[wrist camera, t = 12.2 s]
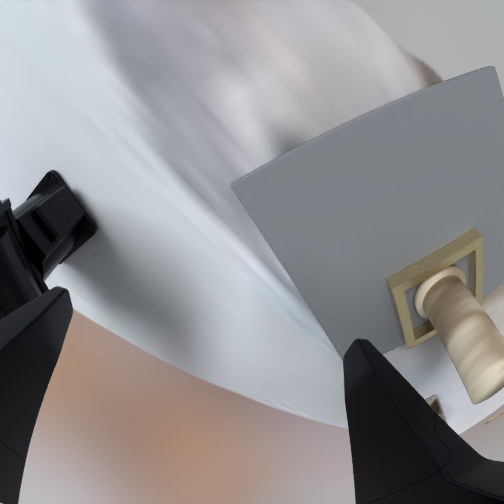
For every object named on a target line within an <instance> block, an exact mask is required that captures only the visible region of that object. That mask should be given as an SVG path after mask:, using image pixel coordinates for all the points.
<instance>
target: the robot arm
mask: <svg viewBox="0 0 504 504" xmlns="http://www.w3.org/2000/svg"><path fill="white" fill-rule="evenodd" d="M51 175H52V176H53V179H52V178H51ZM90 227H91V228H92V229H93V230H91V229H90ZM96 232H97V226H96V224H95V223H94V222H93V220H92V219H91V218H90V217H89V215H88V214H87V213H86V212H85V210H84V209H83V208H82V206H81V205H80V204H79V202H78V201H77V200H76V198H75V197H74V196H73V194H72V193H71V192H70V190H69V189H68V188H67V186H66V185H65V184H64V182H63V181H62V179H61V178H60V177H59V175H58V174H57V172H56V171H55V170H51V171H49V172H48V173H47V174H46V175H45V176H44V177H43V179H42V180H41V181H40V183H39V184H38V185H37V186H36V188H35V189H34V190H33V192H32V193H31V194H30V196H29V197H28V198H27V200H26V201H25V202H24V203H23V204H21V205H20V206H19V207H17V208H16V209H15V210H13V211H12V209H11V203H10V200H9V198H8V199H5V200H3V201H1V200H0V503H3V504H18V501H19V494H20V488H21V482H22V477H23V471H24V467H25V462H26V457H27V453H28V448H29V444H30V441H31V437H32V433H33V430H34V426H35V423H36V420H37V416H38V413H39V410H40V407H41V404H42V401H43V398H44V395H45V392H46V389H47V387H48V384H49V381H50V378H51V376H52V373H53V371H54V368H55V366H56V363H57V361H58V358H59V355H60V352H61V349H62V346H63V342H64V339H65V336H66V333H67V330H68V327H69V324H70V321H71V318H72V314H73V307H72V303H71V299H70V294H69V291H68V290H67V289H65V288H62V287H58V286H57V287H54V288H52V289H51V290H49V289H48V287H47V285H46V284H45V282H44V281H45V280H46V279H47V278H48V276H49V275H50V274H51V273H52V271H53V270H54V269H55V268H56V266H57V265H58V264H61V263H62V262H63V261H65V260H66V259H67V258H68V257H69V256H70V255H71V254H72V253H73V252H75V251H76V250H77V249H78V248H79V247H80V246H81V245H83V244H84V243H85V242H86V241H87V240H88V239H89V238H91V237H92V236H93V235H94V234H95V233H96ZM343 368H344V391H345V405H346V413H347V420H348V428H349V436H350V443H351V453H352V463H353V474H354V486H355V499H356V504H504V462H500V461H493V460H489V459H486V458H484V457H483V456H481V455H480V454H478V453H477V452H476V451H475V450H474V449H473V448H472V447H471V446H470V445H469V444H468V443H466V442H465V441H464V440H463V439H462V438H461V437H460V436H459V435H458V434H457V433H456V432H455V431H454V430H453V429H452V428H451V427H450V426H449V425H448V424H447V423H446V422H445V421H444V420H443V419H442V418H441V417H440V416H439V415H438V414H437V412H436V411H434V409H433V408H432V407H431V406H430V405H429V404H428V403H427V402H426V401H425V400H424V398H423V397H422V396H421V395H420V394H419V393H418V392H417V391H416V390H415V389H414V388H413V387H412V386H411V384H410V383H409V382H408V381H407V380H406V379H405V378H404V377H403V376H402V375H401V374H400V373H399V372H398V371H397V370H396V369H395V367H394V366H393V365H392V364H391V363H390V362H389V361H388V360H387V359H386V358H385V357H384V356H383V355H382V354H381V353H380V352H379V351H378V350H377V349H376V348H375V346H374V345H373V344H372V343H371V342H370V341H369V340H367V339H360V338H357V339H355V340H354V341H353V342H352V344H351V345H350V347H349V348H348V350H347V351H346V353H345V354H344V358H343Z"/></svg>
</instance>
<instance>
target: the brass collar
mask: <svg viewBox="0 0 504 504" xmlns="http://www.w3.org/2000/svg"><path fill="white" fill-rule="evenodd" d="M466 255H468V269H469V290H470V292H471V293H472V294H473V295H474V297H475V298H476V299H477V301H478V302H479V303H480V305H482V291H483V235H482V234H480V233H479V232H478V231H477V230H476V229H475V228H472V229H470V230H469V231H467V232H466V233H464V234H462V235H461V236H459V237H458V238H456V239H454V240H453V241H451V242H449V243H448V244H446V245H444V246H443V247H441V248H439V249H437V250H436V251H434V252H432V253H430V254H429V255H427V256H425V257H423V258H422V259H420V260H418V261H416V262H414V263H413V264H411V265H409V266H407V267H405V268H403V269H402V270H400V271H398V272H396V273H394V274H392V275H390V276H388V277H386V281H387V284H388V288H389V291H390V294H391V297H392V301H393V304H394V308H395V311H396V315H397V318H398V322H399V326H400V329H401V333H402V337H403V340H404V343H405V345H406V347H407V349H409V348H411V347H413V346H415V345H417V344H419V343H421V342H423V341H425V340H426V339H428V338H430V337H432V336H434V335H435V334H437V332H436V330H435V329H434V327H433V325H432V323H431V322H430V320H428V321H426V322H424V323H423V324H421V325H419V326H417V327H415V328H412V323H411V318H410V313H409V309H408V305H407V300H406V296H405V292H404V291H406V290H408V289H410V288H411V287H413V286H415V285H417V284H419V283H421V282H422V281H424V280H426V279H428V278H429V277H431V276H433V275H435V274H436V273H438V272H440V271H441V270H443V269H445V268H447V267H448V266H450V265H451V264H453V263H455V262H456V261H458V260H460V259H461V258H463V257H464V256H466Z"/></svg>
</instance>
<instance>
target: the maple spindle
mask: <svg viewBox="0 0 504 504" xmlns="http://www.w3.org/2000/svg"><path fill="white" fill-rule="evenodd" d="M413 304H414V306H415V308H416V310H417V312H418V313H419V315H420V316H421V317H423V318H427V319H429V320H430V322H431V323H432V325H433V327H434V329H435V330H436V332H437V334H438V336H439V338H440V339H441V341H442V343H443V345H444V347H445V348H446V350H447V352H448V354H449V356H450V358H451V360H452V362H453V364H454V366H455V368H456V370H457V372H458V374H459V376H460V378H461V380H462V382H463V384H464V386H465V388H466V390H467V393H468V395H469V397H470V399H471V402H472V404H478V403H481V402H483V401H485V400H487V399H488V398H490V397H491V396H493V395H494V394H496V393H497V392H498V391H500V390H501V389H502V388H503V387H504V338H503V336H502V335H501V333H500V332H499V330H498V329H497V327H496V326H495V324H494V323H493V321H492V320H491V319H490V317H489V316H488V314H487V313H486V312H485V310H484V309H483V307H482V306H481V305H480V303H479V302H478V301H477V299H476V298H475V297H474V295H473V294H472V293H471V292H470V290H469V289H468V288H467V287H466V277H465V275H464V273H463V272H462V271H461V270H460V269H459V267H458V266H456V265H455V264H451V265H450V266H448V267H447V268H445V269H443V270H441V271H440V272H438V273H436V274H435V275H433V276H431V277H429V278H428V279H426V280H424V281H422V282H421V283H419V284H418V286H417V288H416V290H415V292H414V296H413Z"/></svg>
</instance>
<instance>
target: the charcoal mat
mask: <svg viewBox="0 0 504 504" xmlns="http://www.w3.org/2000/svg"><path fill="white" fill-rule="evenodd" d="M231 188H232V190H233V191H234V193H235V194H236V196H237V197H238V199H239V200H240V202H241V203H242V205H243V206H244V208H245V209H246V211H247V212H248V214H249V215H250V217H251V218H252V220H253V221H254V223H255V224H256V226H257V227H258V229H259V230H260V232H261V233H262V235H263V236H264V238H265V239H266V241H267V242H268V244H269V246H270V247H271V249H272V250H273V252H274V253H275V255H276V256H277V258H278V259H279V261H280V262H281V264H282V266H283V267H284V269H285V270H286V272H287V273H288V275H289V276H290V278H291V279H292V281H293V283H294V284H295V286H296V287H297V289H298V290H299V292H300V293H301V295H302V297H303V298H304V300H305V301H306V303H307V304H308V306H309V308H310V309H311V311H312V312H313V314H314V315H315V317H316V319H317V320H318V322H319V323H320V325H321V327H322V328H323V330H324V331H325V333H326V334H327V336H328V338H329V339H330V341H331V342H332V344H333V346H334V347H335V349H336V350H337V352H338V354H339V355H340V357H341V359H342V360H343V358H344V354H345V353H346V351H347V350H348V348H349V347H350V345H351V344H352V342H353V341H354V340H355V339H357V338H360V339H367V340H369V341H370V342H371V343H372V344H373V345H374V346H375V348H376V349H377V350H378V351H379V352H380V353H381V354H384V353H386V352H389V351H391V350H393V349H395V348H397V347H399V346H401V345H403V344H405V343H404V340H403V337H402V333H401V329H400V326H399V322H398V318H397V315H396V311H395V308H394V304H393V301H392V297H391V294H390V291H389V288H388V284H387V281H386V277H388V276H390V275H392V274H394V273H396V272H398V271H400V270H402V269H403V268H405V267H407V266H409V265H411V264H413V263H414V262H416V261H418V260H420V259H422V258H423V257H425V256H427V255H429V254H430V253H432V252H434V251H436V250H437V249H439V248H441V247H443V246H444V245H446V244H448V243H449V242H451V241H453V240H454V239H456V238H458V237H459V236H461V235H462V234H464V233H466V232H467V231H469V230H470V229H472V228H475V229H476V230H477V231H478V232H479V233H480V234H482V235H483V291H482V298H483V297H484V296H486V295H487V294H488V293H490V292H491V291H493V290H494V289H495V288H497V287H498V286H500V285H501V284H502V283H504V98H503V94H502V90H501V86H500V83H499V80H498V76H497V73H496V70H495V67H493V66H487V67H484V68H480V69H477V70H474V71H471V72H468V73H465V74H463V75H460V76H457V77H454V78H451V79H448V80H446V81H443V82H440V83H438V84H435V85H432V86H430V87H427V88H425V89H422V90H420V91H417V92H415V93H412V94H410V95H407V96H405V97H402V98H400V99H398V100H395V101H393V102H391V103H388V104H386V105H384V106H381V107H379V108H377V109H375V110H372V111H370V112H368V113H366V114H363V115H361V116H359V117H357V118H355V119H353V120H351V121H348V122H346V123H344V124H342V125H340V126H338V127H336V128H334V129H332V130H330V131H328V132H326V133H324V134H322V135H320V136H318V137H316V138H314V139H312V140H310V141H308V142H306V143H304V144H302V145H300V146H298V147H296V148H294V149H292V150H290V151H289V152H287V153H285V154H283V155H281V156H279V157H277V158H275V159H274V160H272V161H270V162H268V163H266V164H264V165H263V166H261V167H259V168H257V169H255V170H254V171H252V172H250V173H248V174H247V175H245V176H243V177H241V178H240V179H238V180H236V181H234V182H233V183H231ZM453 264H455V265H456V266H458V267H459V269H460V270H461V271H462V272H463V273H464V275H465V277H466V287H467V288H468V289H469V269H468V255H466V256H464V257H463V258H461V259H460V260H458V261H456V262H455V263H453ZM417 286H418V284H417V285H415V286H413V287H411V288H410V289H408V290H406V291H404V292H405V296H406V300H407V305H408V309H409V313H410V318H411V323H412V328H415V327H417V326H419V325H421V324H423V323H424V322H426V321H428V320H429V319H427V318H423V317H421V316H420V315H419V313H418V312H417V310H416V308H415V306H414V304H413V296H414V292H415V290H416V288H417Z"/></svg>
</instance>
